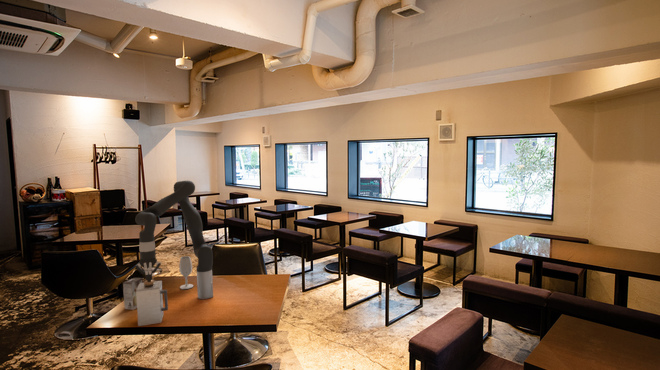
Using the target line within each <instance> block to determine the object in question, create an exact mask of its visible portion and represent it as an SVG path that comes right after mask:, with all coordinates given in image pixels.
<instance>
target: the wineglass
mask: <svg viewBox="0 0 660 370" xmlns="http://www.w3.org/2000/svg"><path fill="white" fill-rule="evenodd" d="M178 267H179V273H180V275H182V276H183V277H184V278H185V279H184V280H185V284H182V285H180V286H179V289H181V290H189V289H192V288H193V287H194V284H192V283H188V277H189V276H190V275H191V273H192V272H193V263H192V258H191V256H189V255H186V256H181V257H180V259H179V265H178Z"/></svg>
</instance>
